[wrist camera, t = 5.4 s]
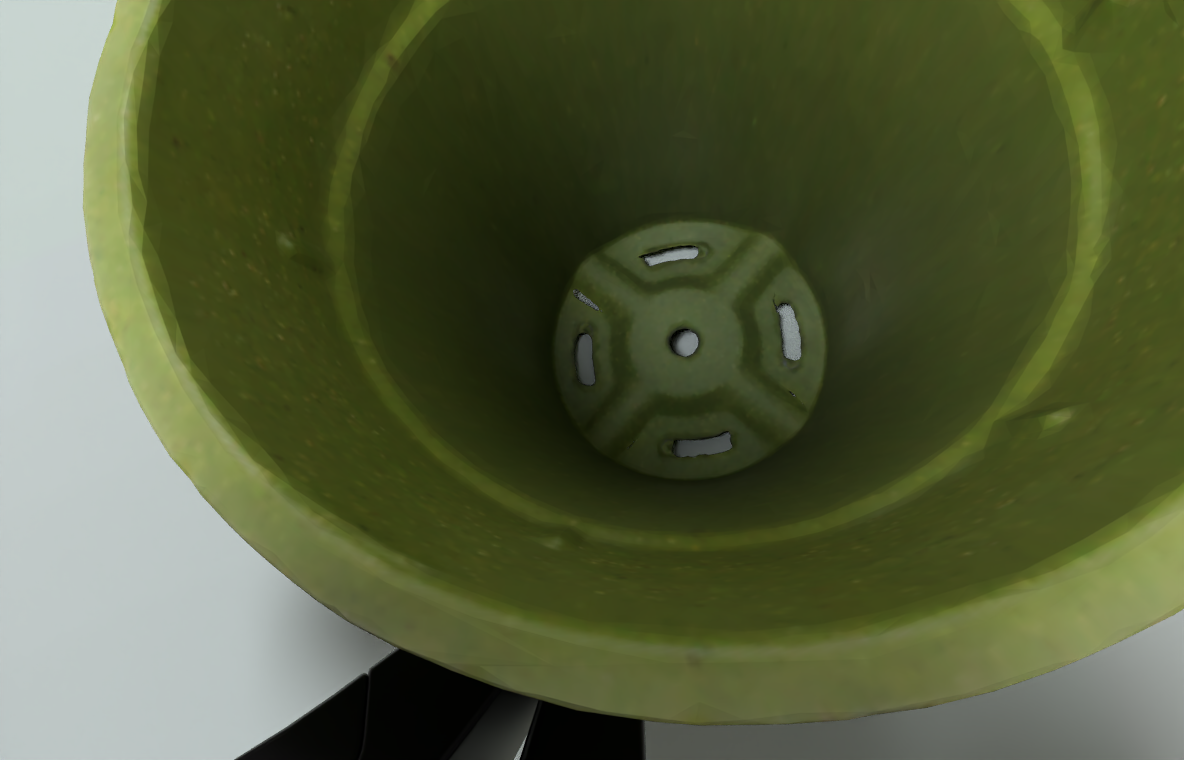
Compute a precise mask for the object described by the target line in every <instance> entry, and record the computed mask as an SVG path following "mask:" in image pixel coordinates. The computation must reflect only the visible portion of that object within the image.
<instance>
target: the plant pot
mask: <svg viewBox="0 0 1184 760" xmlns="http://www.w3.org/2000/svg"><path fill="white" fill-rule="evenodd" d="M83 211H84V219H85V227H86V235H87V243H88V250H89V257H90V262H91V266H92V269H93V274H94V281H95V286H96V290H97V294H98V298H99V302H100V305H101V308H102V311H103V314H104V317H105V319H106V322H107V325H108V328H109V331H110V333H111V336H112V338H113V341H114V343H115V346H116V348H117V351H118V353H119V356H120V358H121V361H122V363H123V365H124V368H125V371H126V374H127V378H128V381H129V383H130V386H131V388H132V390H133V392H134V394H135V396H136V398H137V400H138V402H139V404H140V406H141V408H142V410H143V411H144V413H145V415H146V417H147V419H148V420H149V422H150V424H151V426H152V427H153V429H154V431H155V432H156V434H157V436H158V437H159V439H160V441H161V442H162V444H163V446H164V447H165V449H166V451H167V452H168V454H169V456H170V457H171V458H172V459H173V460H174V461H175V462H176V464H177V465H178V466H179V467H180V468H181V469H182V470H183V472H184V473H185V474H186V475H187V476H188V477H189V478H190V480H191V481H192V483H193V484H194V486H195V487H196V488H197V490H198V491H199V493H200V494H201V495H202V497H203V498H204V499H205V500H206V501H207V502H208V503H209V504H210V505H211V506H212V507H213V508H214V509H215V511H216V512H217V513H218V514H219V515H220V516H221V517H222V518H223V519H224V520H225V521H226V522H227V523H228V525H229V526H230V527H231V528H233V529H234V530H235V531H236V532H237V533H238V534H239V535H240V536H241V537H242V538H243V539H244V540H245V541H246V542H247V543H248V544H249V545H250V546H251V547H252V548H253V549H255V550H256V551H257V552H258V553H259V554H260V555H261V556H263V557H264V558H265V559H266V560H267V561H268V562H269V563H271V564H272V565H273V566H274V567H275V568H277V569H278V570H279V571H280V572H281V573H283V574H284V575H285V576H286V577H287V578H289V579H290V580H291V581H292V582H293V583H295V584H296V585H297V586H299V587H300V588H301V589H302V590H304V591H305V592H306V593H308V594H309V595H310V596H312V597H313V598H314V599H315V600H317V601H318V602H320V603H321V604H323V605H324V606H326V607H327V608H328V609H330V610H331V611H333V612H334V613H336V614H337V615H339V616H340V617H342V618H343V619H345V620H346V621H348V622H350V623H351V624H353V625H355V626H357V627H359V628H361V629H363V630H365V631H367V632H368V633H370V634H372V635H374V636H376V637H378V638H380V639H382V640H383V641H385V642H387V643H389V644H391V645H393V646H395V647H397V648H399V649H402V650H404V651H407V652H409V653H411V654H414V655H416V656H419V657H421V658H424V659H426V660H428V661H431V662H433V663H436V664H438V665H440V666H442V667H445V668H447V669H449V670H452V671H454V672H457V673H460V674H463V675H465V676H468V677H471V678H473V679H476V680H479V681H482V682H484V683H487V684H490V685H492V686H495V687H498V688H501V689H503V690H507V691H511V692H514V693H518V694H521V695H525V696H528V697H532V698H535V699H539V700H543V701H546V702H550V703H553V704H557V705H560V706H564V707H567V708H571V709H575V710H579V711H586V712H593V713H599V714H606V715H613V716H620V717H626V718H633V719H640V720H647V721H653V722H663V723H676V724H689V725H767V724H796V723H810V722H825V721H839V720H850V719H855V718H860V717H866V716H871V715H876V714H883V713H891V712H899V711H906V710H914V709H921V708H928V707H932V706H936V705H940V704H944V703H948V702H952V701H956V700H960V699H964V698H968V697H972V696H976V695H980V694H984V693H989V692H993V691H996V690H999V689H1002V688H1004V687H1007V686H1010V685H1013V684H1016V683H1019V682H1022V681H1025V680H1027V679H1030V678H1033V677H1036V676H1039V675H1042V674H1045V673H1048V672H1050V671H1053V670H1056V669H1058V668H1060V667H1063V666H1065V665H1068V664H1070V663H1072V662H1075V661H1077V660H1080V659H1082V658H1084V657H1087V656H1089V655H1091V654H1093V653H1096V652H1098V651H1100V650H1102V649H1105V648H1107V647H1109V646H1111V645H1114V644H1116V643H1118V642H1120V641H1122V640H1124V639H1126V638H1128V637H1130V636H1132V635H1134V634H1136V633H1138V632H1140V631H1142V630H1144V629H1146V628H1148V627H1150V626H1152V625H1154V624H1156V623H1158V622H1160V621H1162V620H1164V619H1166V618H1168V617H1170V616H1173V615H1175V614H1176V613H1178V612H1179V611H1181V610H1182V609H1184V0H117V3H116V7H115V14H114V20H113V24H112V27H111V29H110V32H109V34H108V37H107V39H106V42H105V45H104V48H103V51H102V54H101V57H100V60H99V63H98V67H97V71H96V75H95V78H94V82H93V86H92V90H91V93H90V97H89V106H88V117H87V131H86V145H85V155H84V191H83ZM686 245H693V246H696V247H697V248H698V255H697V257H695V258H694V259H680V260H676V261H667V262H662V263H659V264H656V265H653V266H649V265H647V264H646V262H645V260H644V258H639V256H642V255H644V254H649V253H653V252H658V251H659V250H661V249H667V248H670V247H677V246H686ZM575 289H578V290H579V292H581V293H582V294H583V295H584V296H586V298H589V299H590V300H591V301H592V302H593V303H595V305H597V306H598V307H599V309H600V310H602V312H601V311H600V310H598V311H597V310H595V309H593V308H592V307H590V306H587V305H586V304H585V303H584V302H581V301H580V300H579V299H577V298H576V297H575V296H574V294H573V290H575ZM774 295H775V296H774ZM773 300H774V302H773ZM774 303H775V304H776V306H779V305H780V304H781V303H788V304H789V305H791V307H792V309H793V310H794V314H795V318H796V320H797V322H798V325H799V333H800V337H801V357H800V359H799V360H790V359H788V358H786V357H785V356H784V355H783V351H782V343H783V342H782V336H781V330H780V315H779V313H778V312H776V307H775V305H774ZM680 329H689V330H691V331H692V332H693V333H695V334H696V335H697V337H698V341H699V342H698V347H697V349H696V350H695V352H694V353H693V354H691V355H689V356H687V357H682V356H680V355H678V354H675V352H674V351H673V350H672V349H671V346H670V338H671V337H672V335H673V333H675V332H676V331H677V330H680ZM580 333H586V334H588V335H590V336H591V338H592V359H593V366H594V372H595V383H594V384H593V385H591V386H590V385H583V384H582V383H581V382H579V380H578V378H577V374H576V368H575V360H574V350H575V341H576V339H577V336H578V335H579V334H580ZM789 391H791V392H792V393H793V394H795V396H796V397H793V395H792V394H791V393H790V392H789ZM801 401H802V402H801ZM802 403H803V404H802ZM726 431H729V433H730V435H731V437H730V441H731V444H732V448H731V449H729V450H728V451H725V452H722V453H717V454H712V455H707V454H702V455H698V456H696V457H695V458H694V457H689V456H687V457H677V456H675V455H674V454H673V452H672V447H673V443H674V441H673V440H693V439H703V438H710V437H715V436H718V435H720V434H721V433H723V432H726ZM636 440H637V441H636ZM633 441H634V442H633ZM635 441H636V442H635ZM631 444H632V446H631V447H630V445H631ZM627 447H629V449H627Z"/></svg>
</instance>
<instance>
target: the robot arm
mask: <svg viewBox="0 0 1184 760" xmlns="http://www.w3.org/2000/svg"><path fill="white" fill-rule="evenodd" d="M526 736H527V738H526V741H525V744H524V747H523V751H522V754H521V757H520V760H646V746H645V721H644V720H640V719H633V718H626V717H620V716H613V715H606V714H599V713H593V712H586V711H579V710H575V709H571V708H567V707H564V706H560V705H557V704H553V703H550V702H546V701H543V700H539V699H535V698H532V697H528V696H525V695H521V694H518V693H514V692H511V691H507V690H503V689H501V688H498V687H495V686H492V685H490V684H487V683H484V682H482V681H479V680H476V679H473V678H471V677H468V676H465V675H463V674H460V673H457V672H454V671H452V670H449V669H447V668H445V667H442V666H440V665H438V664H436V663H433V662H431V661H428V660H426V659H424V658H421V657H419V656H416V655H414V654H411V653H409V652H407V651H404V650H402V649H399V648H397V649H396V650H394V651H393V652H392V653H390V654H389V655H388V656H386V657H385V658H383V659H382V660H381V661H379V662H378V663H377V664H375V665H374V666H372V667H371V668H370V669H369V672H368V675H367V674H366V673H363V674H361V675H360V676H358V677H357V678H356V679H354V680H353V681H351V682H350V683H349V684H347V685H346V686H345V687H343V688H342V689H341V690H339V691H338V692H336V693H335V694H334V695H332V696H331V697H329V698H328V699H327V700H325V701H324V702H322V703H321V704H319V705H318V706H316V707H315V708H314V709H312V710H311V711H309V712H308V713H306V714H305V715H303V716H302V717H300V718H299V719H298V720H296V721H295V722H293V723H292V724H290V725H289V726H287V727H286V728H284V729H283V730H281V731H279V732H278V733H276V734H275V735H273V736H271V737H270V738H268V739H267V740H265V741H263V742H262V743H260V744H259V745H257V746H255V747H254V748H252V749H251V750H249V751H247V752H246V753H244V754H243V755H241V756H239V757H238V758H236V759H234V760H514V758H515V756H516V754H517V752H518V750H519V749H520V747H521V745H522V743H523V741H524V739H525V737H526Z"/></svg>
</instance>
